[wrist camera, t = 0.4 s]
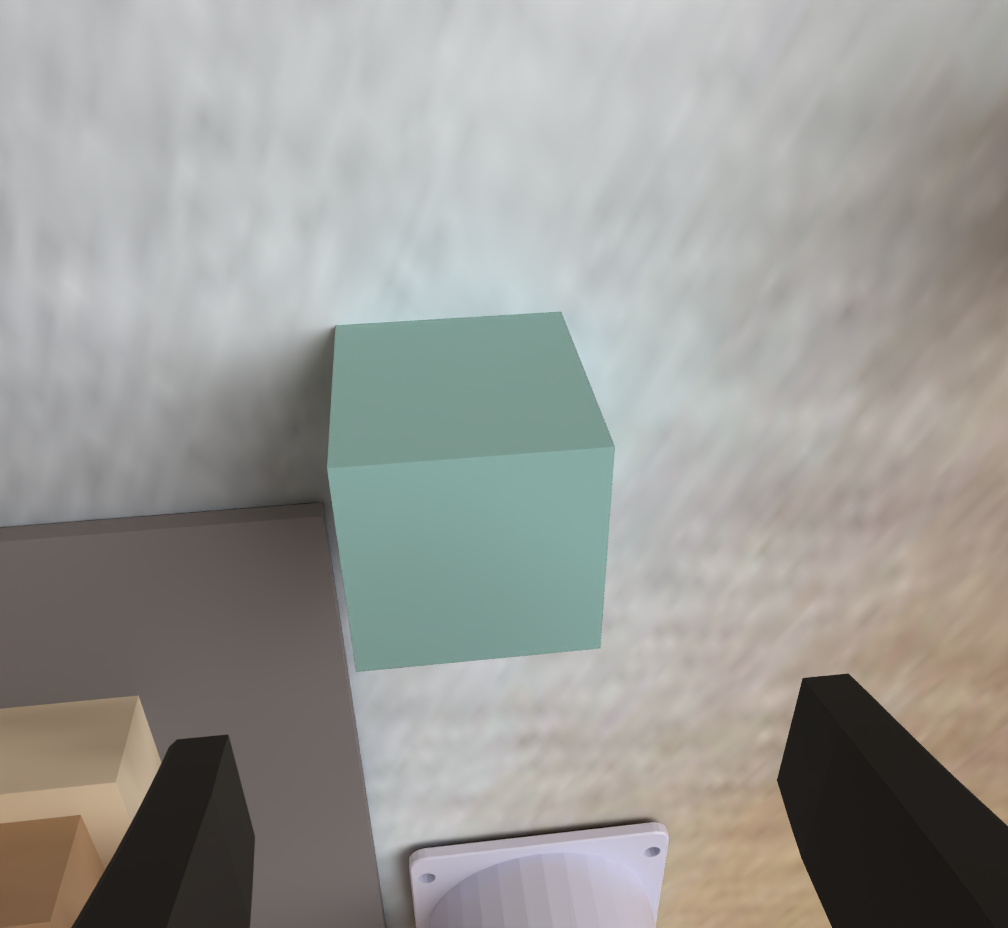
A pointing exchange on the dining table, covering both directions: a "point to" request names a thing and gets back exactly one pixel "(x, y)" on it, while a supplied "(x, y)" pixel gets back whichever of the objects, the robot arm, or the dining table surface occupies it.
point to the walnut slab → (46, 872)
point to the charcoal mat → (213, 674)
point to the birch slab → (77, 765)
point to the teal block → (468, 490)
